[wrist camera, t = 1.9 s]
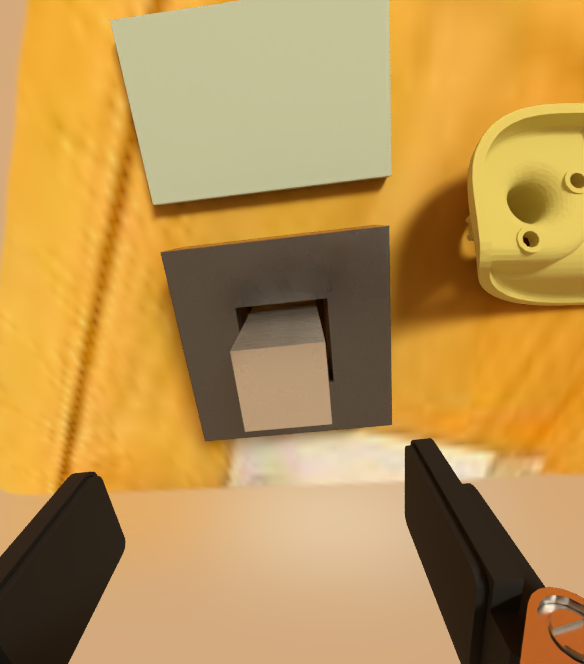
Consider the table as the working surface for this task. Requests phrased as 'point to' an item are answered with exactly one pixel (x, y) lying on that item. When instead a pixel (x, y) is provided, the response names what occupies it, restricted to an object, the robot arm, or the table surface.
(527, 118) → the plastic component
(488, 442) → the table surface
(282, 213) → the table surface
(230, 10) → the sage mat
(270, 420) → the beige peg
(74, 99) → the table surface
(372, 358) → the socket block
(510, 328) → the table surface
